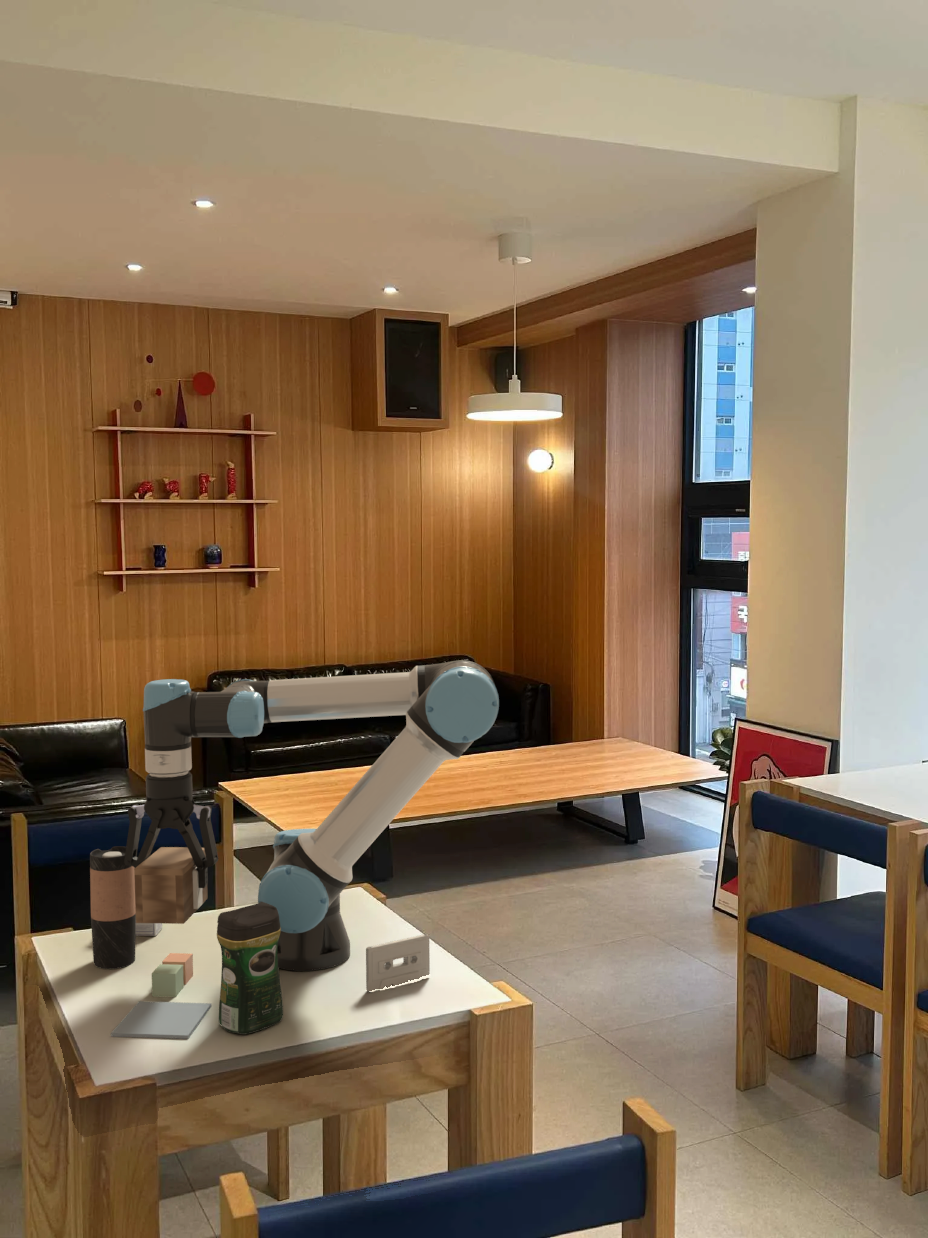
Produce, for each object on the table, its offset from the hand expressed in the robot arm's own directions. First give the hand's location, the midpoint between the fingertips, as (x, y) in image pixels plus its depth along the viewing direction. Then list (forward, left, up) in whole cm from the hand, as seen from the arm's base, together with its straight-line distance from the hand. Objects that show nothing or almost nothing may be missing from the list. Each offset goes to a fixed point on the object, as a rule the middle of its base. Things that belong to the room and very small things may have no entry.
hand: (172, 906), depth 194 cm
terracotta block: (0, -3, -14) cm, 14 cm away
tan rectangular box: (0, 0, -1) cm, 1 cm away
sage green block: (0, +3, -14) cm, 14 cm away
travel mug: (+14, -10, -14) cm, 22 cm away
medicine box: (+15, -25, -14) cm, 32 cm away
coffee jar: (-17, +14, -14) cm, 26 cm away
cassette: (-38, -3, -14) cm, 40 cm away
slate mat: (-3, +14, -14) cm, 20 cm away
